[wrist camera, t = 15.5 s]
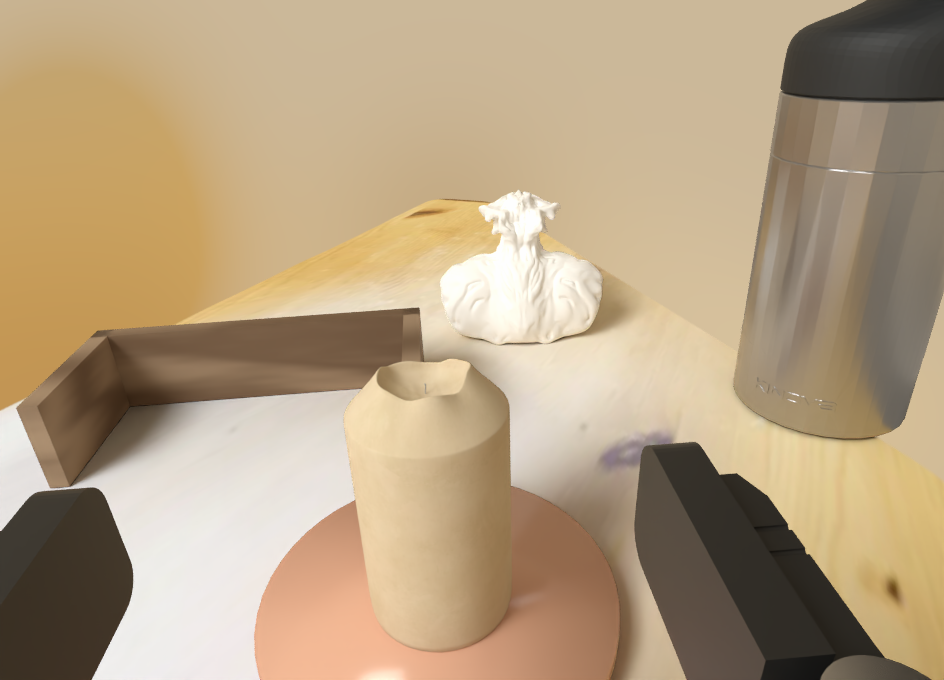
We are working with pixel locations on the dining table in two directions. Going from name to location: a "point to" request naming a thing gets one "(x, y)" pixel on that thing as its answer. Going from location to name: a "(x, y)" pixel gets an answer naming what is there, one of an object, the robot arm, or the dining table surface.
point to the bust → (521, 281)
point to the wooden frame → (204, 372)
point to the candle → (433, 501)
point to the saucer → (453, 672)
